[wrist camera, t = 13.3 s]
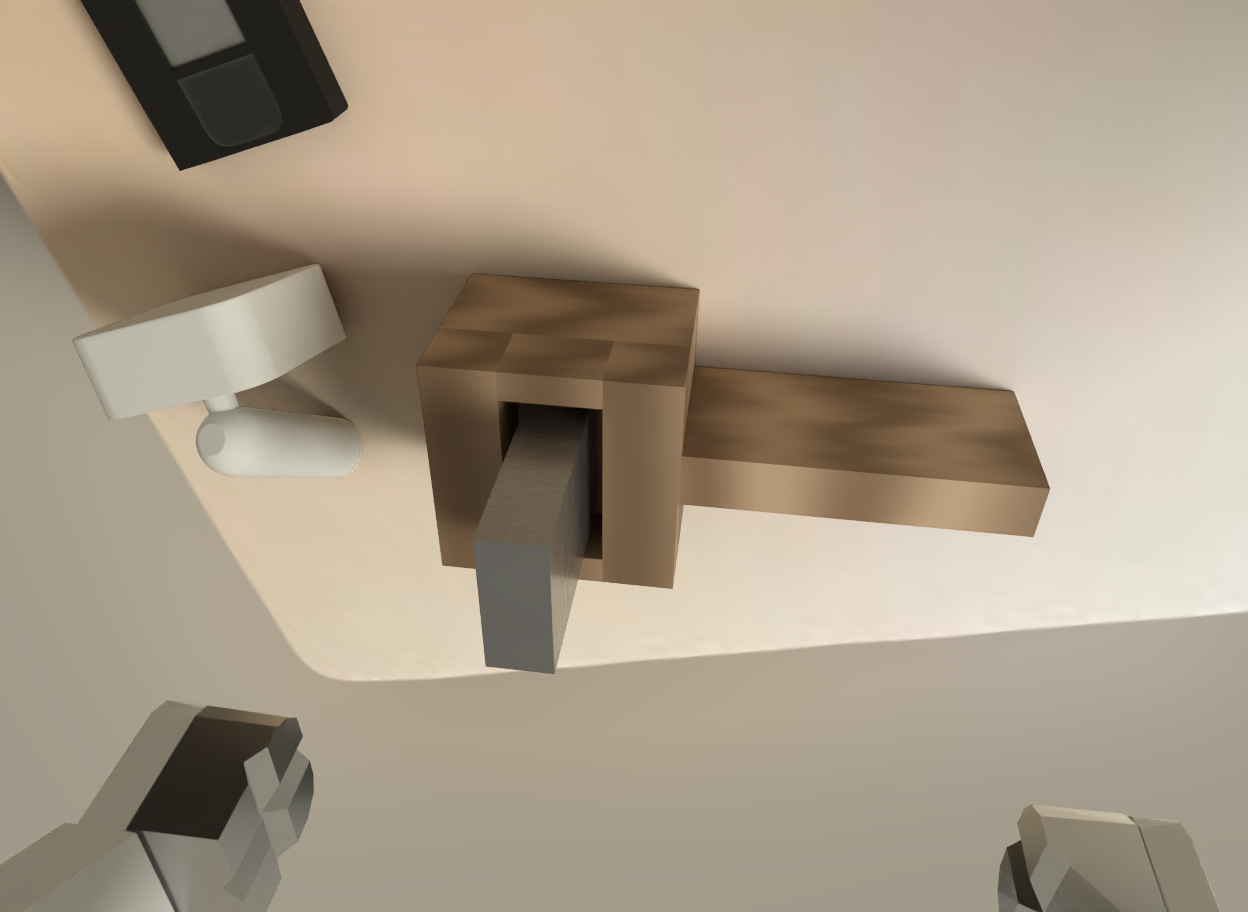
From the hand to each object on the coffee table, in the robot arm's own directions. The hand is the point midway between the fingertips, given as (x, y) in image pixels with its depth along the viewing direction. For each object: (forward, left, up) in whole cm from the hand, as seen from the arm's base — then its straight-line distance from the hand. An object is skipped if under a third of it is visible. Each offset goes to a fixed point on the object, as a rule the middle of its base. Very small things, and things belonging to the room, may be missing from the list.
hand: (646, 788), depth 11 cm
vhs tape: (+21, -3, -32) cm, 38 cm away
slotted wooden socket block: (-1, +14, -31) cm, 34 cm away
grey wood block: (+6, +14, -26) cm, 30 cm away
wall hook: (+20, +14, -31) cm, 40 cm away
